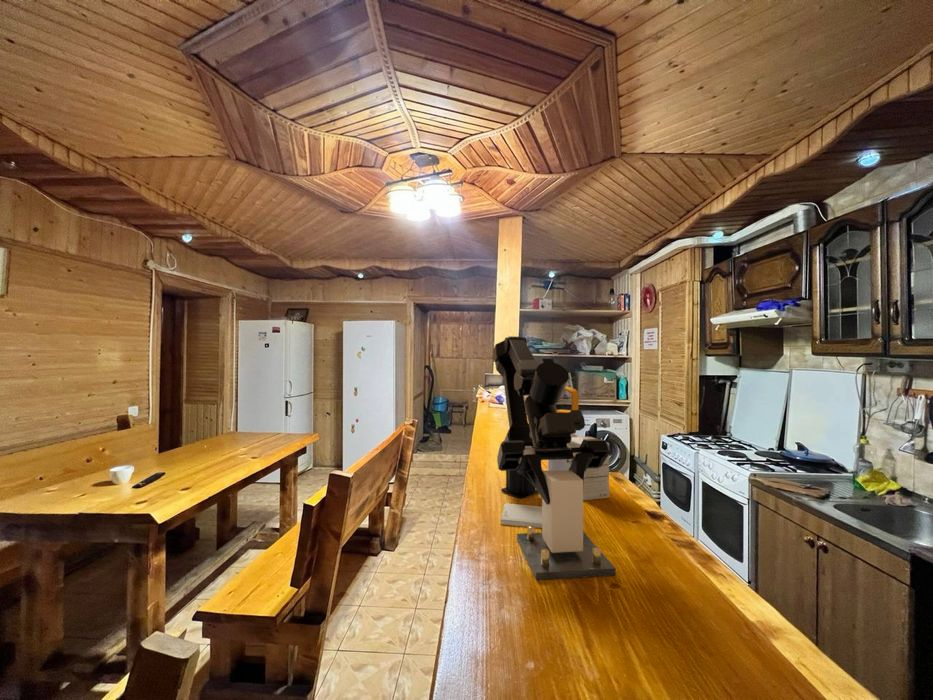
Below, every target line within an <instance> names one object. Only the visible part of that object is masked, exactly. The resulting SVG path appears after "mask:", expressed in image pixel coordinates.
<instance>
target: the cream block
mask: <svg viewBox="0 0 933 700" xmlns="http://www.w3.org/2000/svg"><path fill="white" fill-rule="evenodd" d="M542 471H543V474H544V477H545V481H546V484H547V487H548V491H549V497H550V504H546V503H545V501H544V500H543V498H542V497H541V507H542V528H541V533H542V538H543V539H544V541H545V542H546V544H547V546H548V547H549V549H550V550H551V552H552V553H555V552H575V551H583V532H584V500H583V480H582V479H581V478H580V477H579V476H577V475H576V474H575V473H574V472H572V471H571V470H565V471H548V470H542Z"/></svg>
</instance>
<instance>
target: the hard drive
mask: <svg viewBox="0 0 933 700" xmlns="http://www.w3.org/2000/svg"><path fill="white" fill-rule="evenodd" d="M500 525H506V526H514V527H515V526H517V527H527V526H529V525H532V526H534V528H536V529H537V528H538V529H539V528H540V529H542V506H540V505H539V506H538V505H528V504H527V505H526V504H518V503H517V504H515V503H504V505H503V509H502V513H501V518H500Z"/></svg>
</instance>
